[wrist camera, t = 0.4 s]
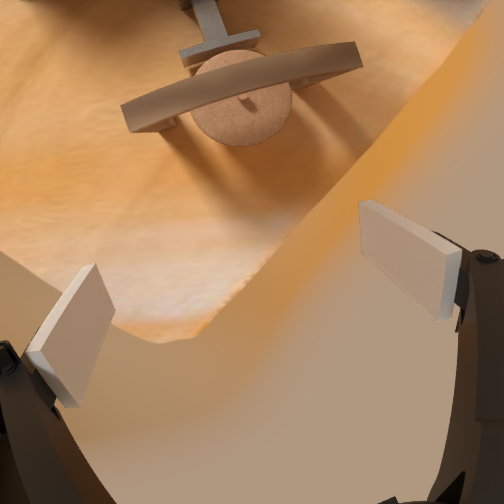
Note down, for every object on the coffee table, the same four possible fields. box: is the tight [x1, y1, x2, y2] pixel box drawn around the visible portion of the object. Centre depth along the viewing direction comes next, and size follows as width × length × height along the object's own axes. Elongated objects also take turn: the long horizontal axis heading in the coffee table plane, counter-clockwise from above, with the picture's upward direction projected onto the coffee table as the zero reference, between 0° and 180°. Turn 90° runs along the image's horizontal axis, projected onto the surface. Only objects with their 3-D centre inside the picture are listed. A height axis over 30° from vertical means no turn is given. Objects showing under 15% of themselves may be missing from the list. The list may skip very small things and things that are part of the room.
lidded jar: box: [191, 50, 292, 147], centre depth 31 cm, size 11×11×9 cm
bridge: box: [120, 42, 363, 133], centre depth 28 cm, size 2×20×15 cm, turn 107°
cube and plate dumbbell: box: [178, 0, 261, 68], centre depth 26 cm, size 12×9×8 cm
